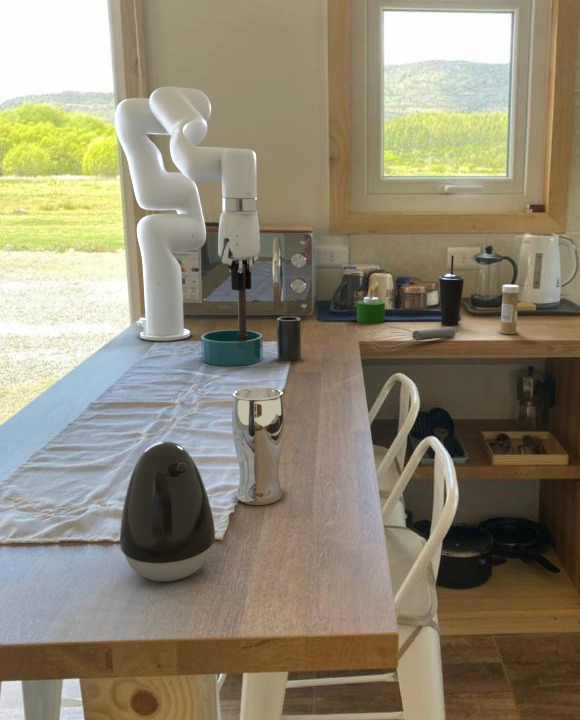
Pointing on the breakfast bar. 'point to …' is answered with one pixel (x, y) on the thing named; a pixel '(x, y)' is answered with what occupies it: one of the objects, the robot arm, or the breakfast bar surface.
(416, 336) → the kitchen whisk
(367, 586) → the breakfast bar surface
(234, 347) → the bowl
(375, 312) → the candle
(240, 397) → the beer glass
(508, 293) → the sprinkles bottle
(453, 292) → the drinking cup
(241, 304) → the wooden muddler
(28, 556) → the breakfast bar surface
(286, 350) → the crock
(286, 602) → the breakfast bar surface
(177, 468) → the black egg-shaped body
